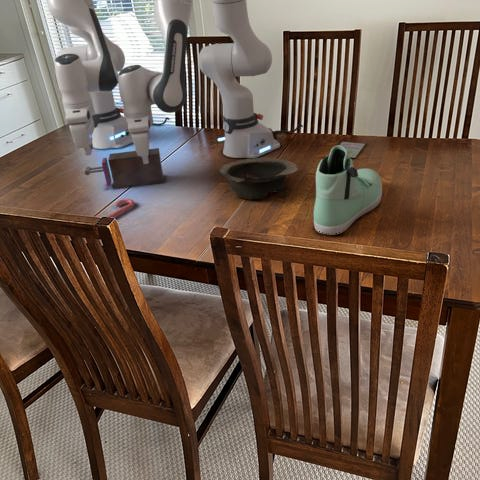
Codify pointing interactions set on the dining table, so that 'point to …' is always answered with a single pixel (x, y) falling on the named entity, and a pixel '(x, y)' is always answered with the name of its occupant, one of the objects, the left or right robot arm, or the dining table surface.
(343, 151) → the sneaker
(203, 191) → the dining table surface
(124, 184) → the cabinet
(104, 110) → the left robot arm
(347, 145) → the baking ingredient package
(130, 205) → the candy cane
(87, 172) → the drawer
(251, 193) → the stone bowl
